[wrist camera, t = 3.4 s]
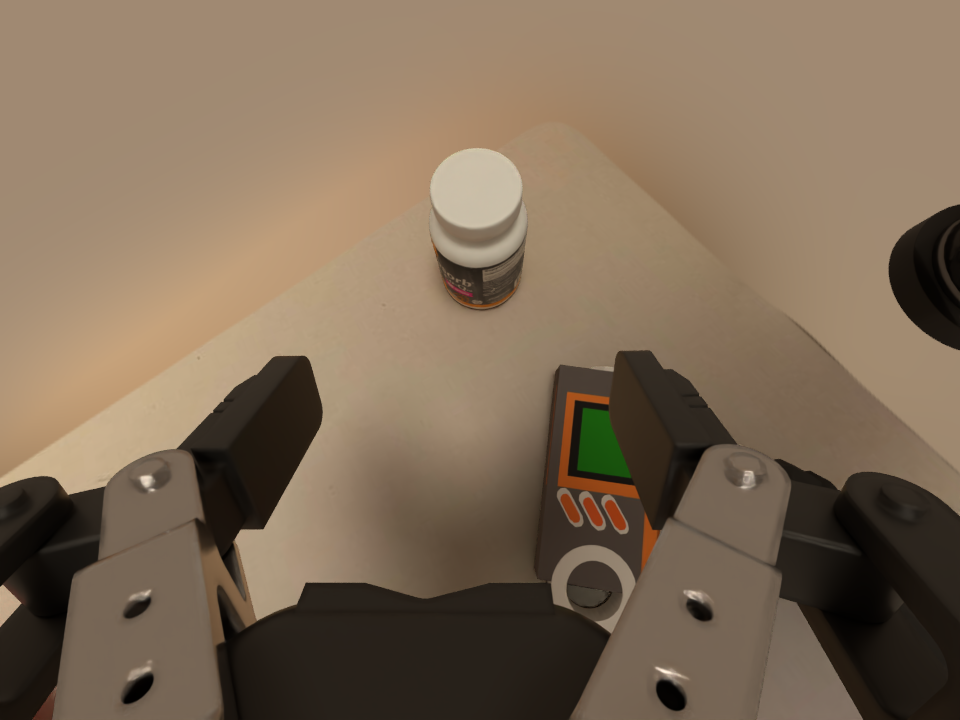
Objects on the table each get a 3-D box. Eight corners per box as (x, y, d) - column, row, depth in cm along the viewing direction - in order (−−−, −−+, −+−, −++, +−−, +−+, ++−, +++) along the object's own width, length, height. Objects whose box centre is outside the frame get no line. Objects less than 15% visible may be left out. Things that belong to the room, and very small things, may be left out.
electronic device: (532, 629, 22) (561, 357, 25) (528, 608, 25) (555, 366, 28) (661, 652, 22) (675, 372, 25) (642, 628, 25) (657, 380, 28)
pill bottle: (427, 272, 30) (394, 183, 21) (486, 225, 31) (480, 118, 22) (478, 327, 29) (467, 260, 20) (538, 277, 30) (556, 188, 20)
